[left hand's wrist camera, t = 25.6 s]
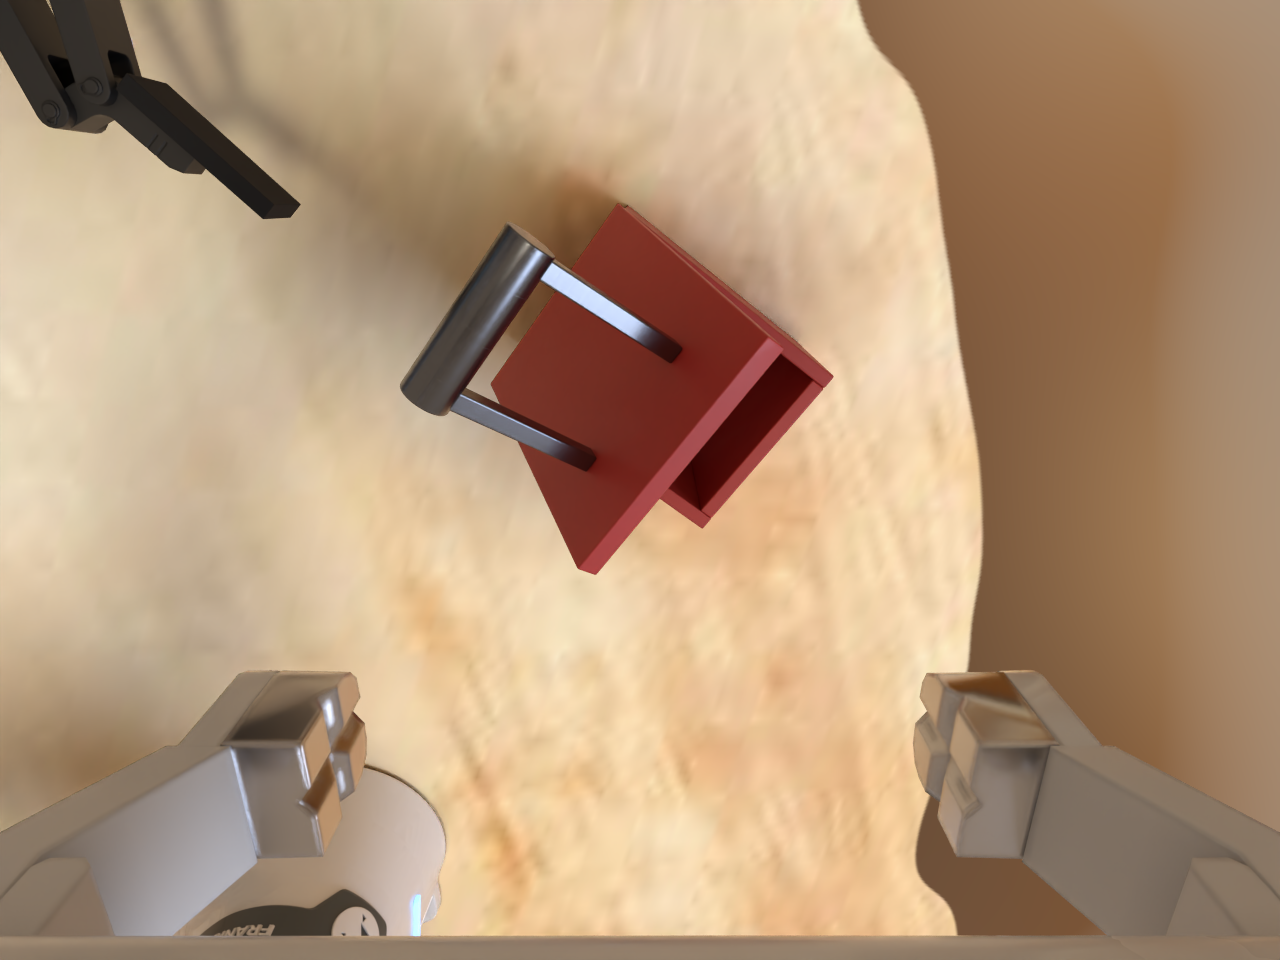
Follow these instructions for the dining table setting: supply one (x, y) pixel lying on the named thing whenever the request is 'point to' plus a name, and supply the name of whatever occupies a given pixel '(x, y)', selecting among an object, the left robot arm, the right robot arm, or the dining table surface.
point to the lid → (596, 372)
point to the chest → (744, 414)
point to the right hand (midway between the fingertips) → (387, 81)
